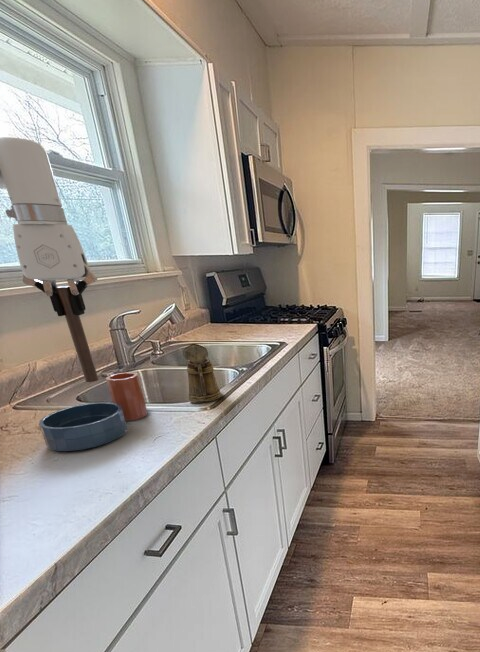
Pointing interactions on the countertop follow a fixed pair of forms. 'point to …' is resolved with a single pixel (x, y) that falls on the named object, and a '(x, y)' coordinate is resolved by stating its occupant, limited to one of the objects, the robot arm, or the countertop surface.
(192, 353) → the wooden mug
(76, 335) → the stick
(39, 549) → the countertop surface
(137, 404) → the holder
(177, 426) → the countertop surface
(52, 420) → the bowl
